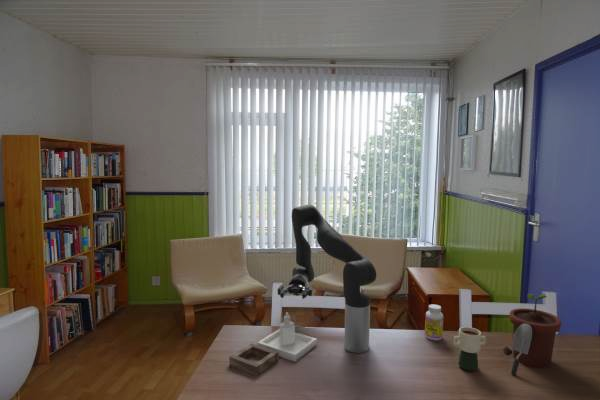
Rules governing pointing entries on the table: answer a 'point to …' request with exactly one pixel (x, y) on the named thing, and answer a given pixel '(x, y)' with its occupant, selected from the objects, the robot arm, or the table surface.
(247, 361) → the walnut holder
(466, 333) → the character mug
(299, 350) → the tray
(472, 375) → the table surface
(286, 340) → the eye dropper bottle
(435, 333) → the supplement bottle
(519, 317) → the potted plant
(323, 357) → the table surface
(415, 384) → the table surface
